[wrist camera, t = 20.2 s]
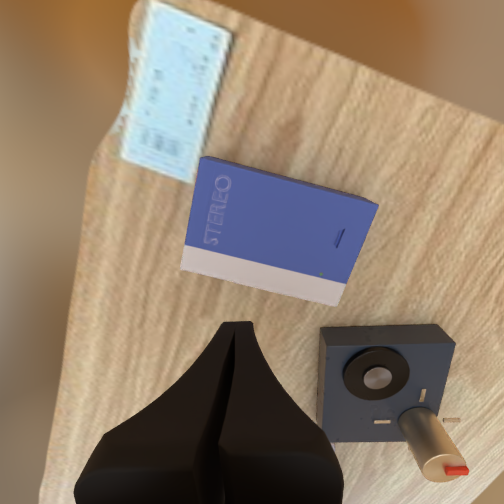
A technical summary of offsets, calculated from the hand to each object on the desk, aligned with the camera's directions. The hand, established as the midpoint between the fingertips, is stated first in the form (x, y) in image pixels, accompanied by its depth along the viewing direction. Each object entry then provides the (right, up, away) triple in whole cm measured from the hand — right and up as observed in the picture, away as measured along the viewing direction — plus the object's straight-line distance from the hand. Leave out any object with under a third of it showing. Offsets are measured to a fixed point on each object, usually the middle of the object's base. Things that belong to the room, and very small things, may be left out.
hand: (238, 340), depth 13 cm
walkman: (+8, +4, +8) cm, 12 cm away
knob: (+15, -11, +12) cm, 22 cm away
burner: (+11, -6, +11) cm, 16 cm away
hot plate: (+13, -8, +14) cm, 20 cm away
